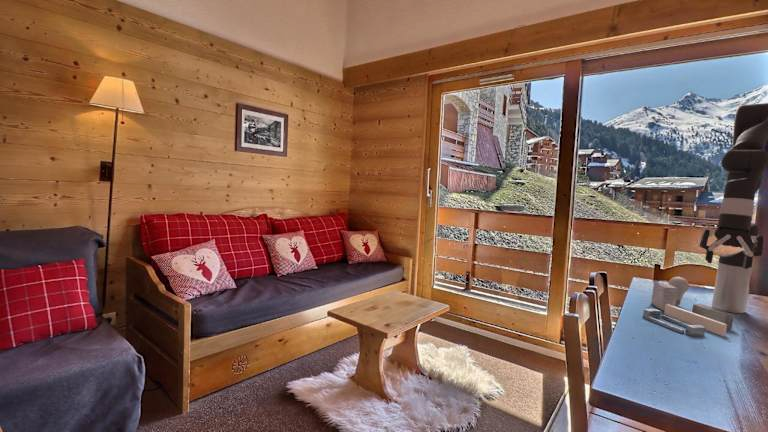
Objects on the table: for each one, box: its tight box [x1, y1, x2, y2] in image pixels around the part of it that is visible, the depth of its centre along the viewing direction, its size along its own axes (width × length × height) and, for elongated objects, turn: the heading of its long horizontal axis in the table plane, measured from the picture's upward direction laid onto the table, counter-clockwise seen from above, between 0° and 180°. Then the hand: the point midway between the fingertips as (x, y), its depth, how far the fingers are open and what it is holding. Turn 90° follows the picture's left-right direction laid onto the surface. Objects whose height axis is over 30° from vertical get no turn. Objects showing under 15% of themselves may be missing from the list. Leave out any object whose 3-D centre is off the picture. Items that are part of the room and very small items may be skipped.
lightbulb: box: [668, 276, 690, 306], centre depth 144 cm, size 6×6×11 cm
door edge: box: [663, 304, 728, 337], centre depth 124 cm, size 2×18×4 cm, turn 15°
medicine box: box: [651, 281, 678, 312], centre depth 140 cm, size 8×4×9 cm, turn 168°
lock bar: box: [691, 303, 735, 331], centre depth 126 cm, size 4×10×5 cm, turn 15°
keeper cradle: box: [642, 308, 706, 337], centre depth 122 cm, size 8×16×2 cm, turn 16°
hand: (726, 265), depth 118 cm, fingers open, 8 cm apart
